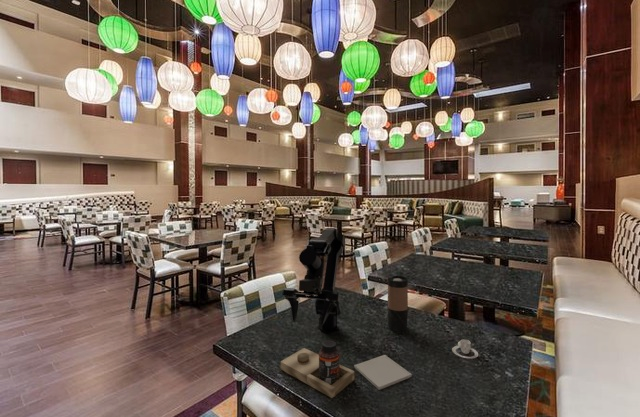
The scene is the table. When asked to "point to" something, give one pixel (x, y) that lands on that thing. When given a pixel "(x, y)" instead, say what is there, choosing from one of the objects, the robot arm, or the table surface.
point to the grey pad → (382, 371)
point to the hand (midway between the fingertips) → (307, 323)
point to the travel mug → (397, 303)
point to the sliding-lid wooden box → (315, 372)
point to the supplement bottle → (329, 362)
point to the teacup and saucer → (465, 348)
